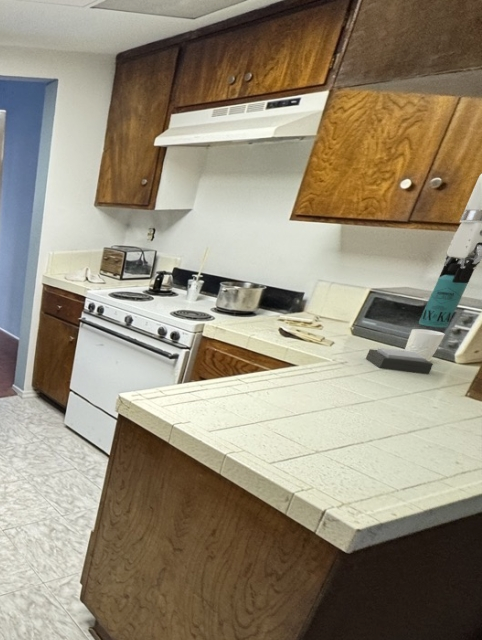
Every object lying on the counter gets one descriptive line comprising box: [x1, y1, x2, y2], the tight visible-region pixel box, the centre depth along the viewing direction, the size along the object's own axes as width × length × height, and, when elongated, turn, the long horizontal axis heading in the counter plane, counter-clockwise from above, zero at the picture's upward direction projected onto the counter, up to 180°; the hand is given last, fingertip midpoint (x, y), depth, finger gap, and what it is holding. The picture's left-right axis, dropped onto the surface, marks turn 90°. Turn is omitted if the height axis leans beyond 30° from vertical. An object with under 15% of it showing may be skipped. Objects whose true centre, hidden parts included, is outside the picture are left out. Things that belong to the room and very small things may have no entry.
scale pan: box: [376, 347, 426, 362], centre depth 156 cm, size 9×9×2 cm
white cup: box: [404, 328, 446, 362], centre depth 163 cm, size 8×8×10 cm
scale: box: [365, 348, 434, 375], centre depth 157 cm, size 12×12×4 cm
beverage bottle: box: [418, 263, 469, 328], centre depth 141 cm, size 6×7×20 cm
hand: (452, 280), depth 139 cm, fingers closed on beverage bottle, 6 cm apart
